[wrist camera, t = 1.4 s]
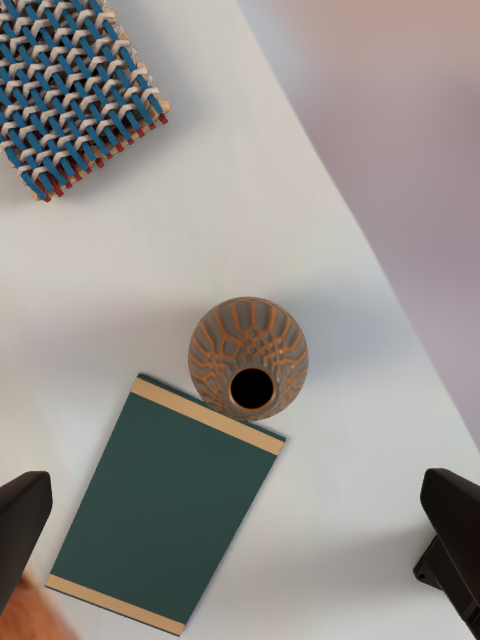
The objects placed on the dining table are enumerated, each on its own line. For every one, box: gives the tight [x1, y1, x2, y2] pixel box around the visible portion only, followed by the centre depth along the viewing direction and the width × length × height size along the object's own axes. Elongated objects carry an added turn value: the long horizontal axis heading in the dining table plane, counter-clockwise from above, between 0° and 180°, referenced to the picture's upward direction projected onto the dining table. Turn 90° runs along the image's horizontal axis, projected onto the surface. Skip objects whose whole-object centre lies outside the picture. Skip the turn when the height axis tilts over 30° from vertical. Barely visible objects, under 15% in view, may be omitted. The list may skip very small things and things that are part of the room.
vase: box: [188, 297, 308, 421], centre depth 16 cm, size 7×7×9 cm
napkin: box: [44, 374, 286, 637], centre depth 22 cm, size 12×20×1 cm, turn 154°
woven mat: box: [0, 0, 171, 202], centre depth 17 cm, size 10×11×2 cm
